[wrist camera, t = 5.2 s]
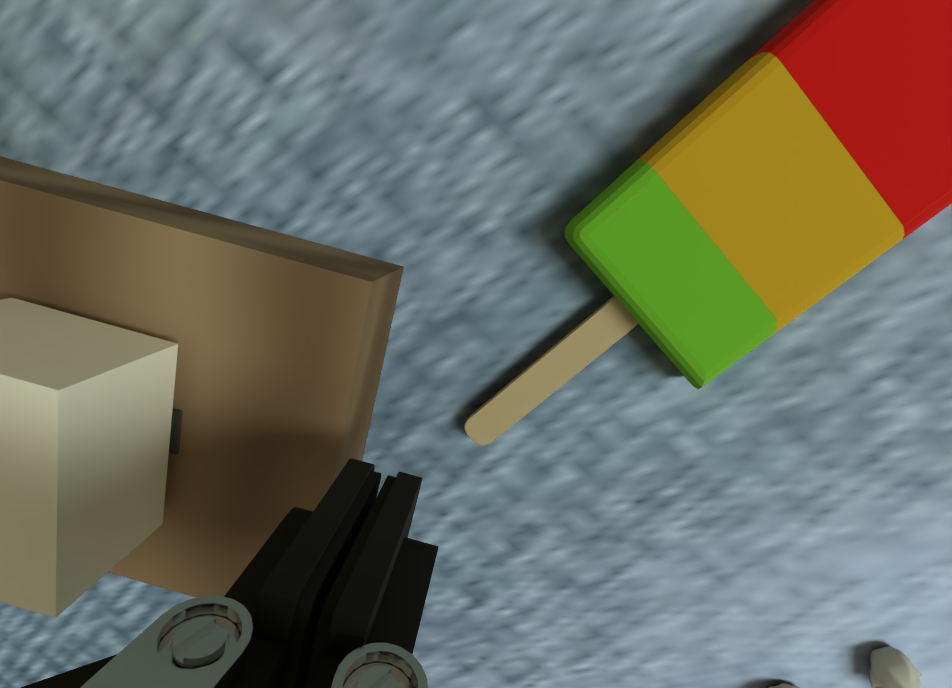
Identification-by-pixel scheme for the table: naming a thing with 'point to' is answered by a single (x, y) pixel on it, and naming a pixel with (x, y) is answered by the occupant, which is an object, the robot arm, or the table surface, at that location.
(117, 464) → the fader knob
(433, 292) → the table surface
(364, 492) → the robot arm
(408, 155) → the table surface
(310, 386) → the console
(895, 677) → the game pieces
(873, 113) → the popsicle
